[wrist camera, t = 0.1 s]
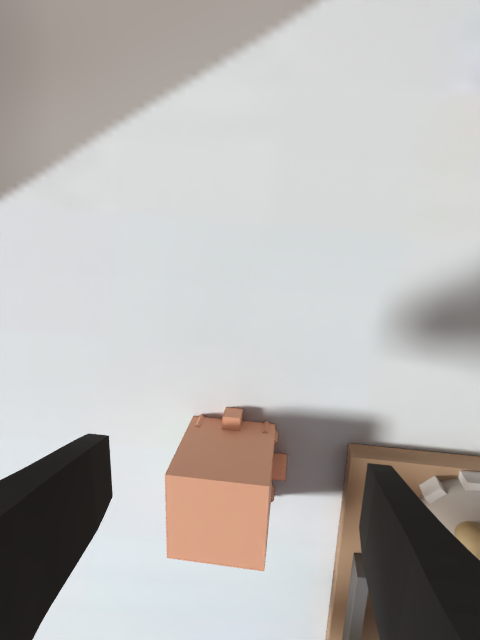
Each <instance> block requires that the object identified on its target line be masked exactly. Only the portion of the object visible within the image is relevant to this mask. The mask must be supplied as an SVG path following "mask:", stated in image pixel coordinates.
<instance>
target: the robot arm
mask: <svg viewBox="0 0 480 640" xmlns="http://www.w3.org/2000/svg"><path fill="white" fill-rule="evenodd" d="M111 499H112V481H111V465H110V449H109V436H106V435H97V434H87V435H84V436H82V437H80V438H78V439H76V440H74V441H73V442H71V443H69V444H67V445H65V446H63V447H62V448H60V449H58V450H56V451H54V452H53V453H51V454H49V455H47V456H45V457H44V458H42V459H40V460H38V461H36V462H34V463H33V464H31V465H29V466H27V467H25V468H23V469H22V470H20V471H18V472H16V473H14V474H12V475H10V476H8V477H6V478H4V479H2V480H0V640H32V639H33V637H34V635H35V633H36V631H37V629H38V628H39V626H40V624H41V622H42V620H43V619H44V617H45V615H46V613H47V611H48V610H49V608H50V606H51V605H52V603H53V601H54V600H55V598H56V597H57V595H58V593H59V592H60V590H61V589H62V587H63V585H64V584H65V582H66V580H67V579H68V577H69V576H70V574H71V572H72V571H73V569H74V568H75V566H76V564H77V563H78V561H79V559H80V558H81V556H82V555H83V553H84V551H85V550H86V548H87V546H88V545H89V543H90V541H91V540H92V538H93V536H94V535H95V533H96V531H97V530H98V528H99V525H100V523H101V521H102V519H103V517H104V515H105V512H106V510H107V508H108V506H109V503H110V501H111ZM359 533H360V542H361V552H362V560H363V567H364V572H365V576H366V581H367V585H368V590H369V594H370V599H371V603H372V608H373V612H374V616H375V621H376V625H377V629H378V634H379V638H380V640H480V560H479V559H478V558H477V557H476V556H474V555H473V554H472V553H471V552H470V551H469V550H468V549H467V548H466V547H465V546H464V545H463V544H462V543H461V542H460V541H459V540H458V539H457V538H456V537H455V536H454V535H453V534H452V533H451V532H450V531H449V530H448V529H447V528H446V527H445V526H444V525H443V524H442V523H441V522H440V521H439V520H438V519H437V517H436V516H435V515H434V514H433V513H432V512H431V511H430V510H429V509H428V508H427V506H426V505H425V504H424V503H423V502H422V501H421V500H420V499H419V497H418V496H417V495H416V494H415V493H414V492H413V490H412V489H411V488H410V487H409V486H408V484H407V483H406V482H405V481H404V480H403V479H402V477H401V476H400V475H399V474H398V473H397V472H396V470H395V469H394V468H393V467H392V466H391V465H381V464H372V463H367V471H366V478H365V486H364V493H363V500H362V508H361V515H360V522H359Z"/></svg>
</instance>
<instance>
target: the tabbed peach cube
mask: <svg viewBox="0 0 480 640" xmlns="http://www.w3.org/2000/svg"><path fill="white" fill-rule="evenodd" d="M242 419H243V409H239V408H229V407H226V408H225V411H224V414H223V419H219V418H208V417H204V416H203V415H202V414H201V415H200V416H199V417H198V416H193V418H192V420H191V422H190V424H189V426H188V428H187V430H186V432H185V434H184V436H183V438H182V441H181V443H180V445H179V447H178V449H177V451H176V453H175V455H174V457H173V459H172V461H171V463H170V465H169V468H168V470H167V472H166V474H165V493H166V535H167V558H172V559H179V560H186V561H193V562H201V563H208V564H215V565H222V566H230V567H237V568H244V569H252V570H259V571H264V568H265V558H266V547H267V536H268V525H269V515H270V504H271V502H272V501H274V492H275V488H274V487H273V486H272V479H273V480H282V481H285V480H286V466H287V454H278V453H274V445H275V444H276V443H278V431H277V430H276V429H275V427H276V424H271V423H269V422H268V421H265V422H264V423H261V422H250V421H242Z"/></svg>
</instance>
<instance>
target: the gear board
mask: <svg viewBox="0 0 480 640" xmlns="http://www.w3.org/2000/svg"><path fill="white" fill-rule="evenodd" d="M367 463H372V464H381V465H391V466H392V467H393V468H394V469H395V470H396V472H397V473H398V474H399V475H400V476H401V477H402V479H403V480H404V481H405V482H406V483H407V484H408V486H409V487H410V488H411V489H412V490H413V492H414V493H415V494H416V495H417V496H418V497H419V499H420V500H421V501H422V502H423V503H424V504H425V505H426V506H427V508H428V509H429V510H430V511H431V512H432V513H433V514H434V515H435V516H436V517H437V519H438V520H439V521H440V522H441V523H442V524H443V525H444V526H445V527H446V528H447V529H448V530H449V531H450V532H451V533H452V534H453V535H454V536H455V537H456V538H457V539H458V540H459V541H460V542H461V543H462V544H463V545H464V546H465V547H466V548H467V549H468V550H469V551H470V552H471V553H472V554H473V555H474V556H476V557H477V558H478V559H479V560H480V456H470V455H460V454H450V453H440V452H430V451H420V450H410V449H400V448H390V447H380V446H370V445H359V444H349V445H348V454H347V462H346V471H345V479H344V488H343V496H342V505H341V513H340V521H339V530H338V538H337V547H336V555H335V564H334V572H333V581H332V589H331V598H330V606H329V615H328V623H327V631H326V640H380V638H379V634H378V629H377V625H376V621H375V616H374V612H373V608H372V603H371V599H370V594H369V590H368V585H367V581H366V576H365V572H364V567H363V560H362V552H361V542H360V533H359V522H360V515H361V508H362V500H363V493H364V486H365V478H366V471H367Z"/></svg>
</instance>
